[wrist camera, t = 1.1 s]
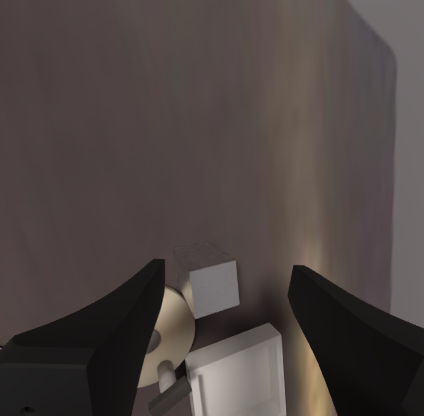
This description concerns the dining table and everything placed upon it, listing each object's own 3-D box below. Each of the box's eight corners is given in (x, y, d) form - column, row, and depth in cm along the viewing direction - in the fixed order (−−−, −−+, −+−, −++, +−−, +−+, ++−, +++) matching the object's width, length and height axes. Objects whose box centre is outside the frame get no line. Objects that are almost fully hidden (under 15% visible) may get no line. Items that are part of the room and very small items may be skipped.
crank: (69, 323, 20) (49, 366, 15) (166, 265, 23) (175, 286, 18) (124, 394, 22) (122, 452, 18) (205, 334, 25) (223, 370, 20)
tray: (195, 439, 26) (201, 463, 24) (184, 354, 25) (189, 372, 22) (274, 397, 30) (286, 415, 28) (268, 322, 29) (281, 334, 26)
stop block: (177, 282, 24) (195, 319, 17) (172, 247, 23) (189, 272, 17) (211, 273, 25) (239, 304, 19) (207, 240, 25) (235, 260, 18)
